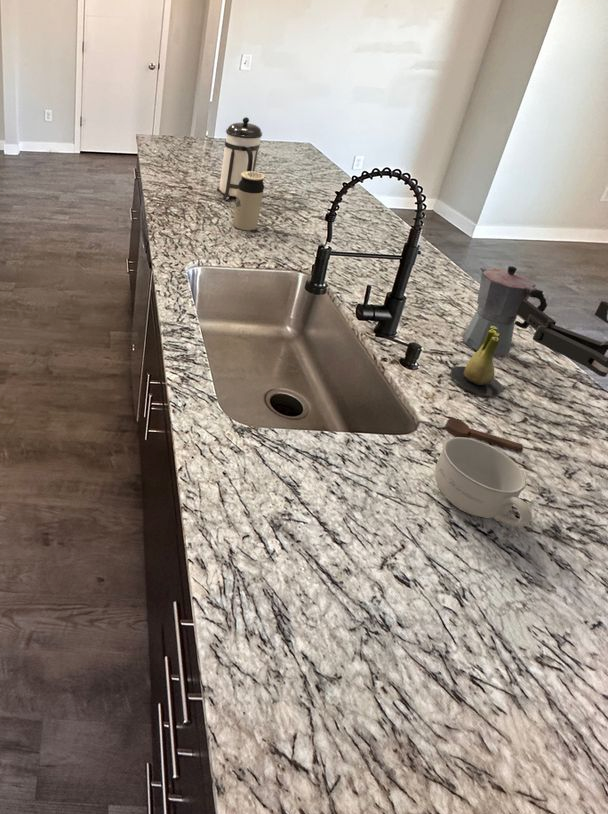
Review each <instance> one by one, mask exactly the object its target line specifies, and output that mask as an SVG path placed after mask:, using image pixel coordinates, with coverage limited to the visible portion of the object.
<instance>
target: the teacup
mask: <svg viewBox="0 0 608 814" xmlns="http://www.w3.org/2000/svg"><path fill="white" fill-rule="evenodd" d="M434 479H435V483H436V486H437V487H438V489H439V490H440V492H441V494H442V495H444V497H445V498H446V499H447V501H449V502H450V504H452V505H453V506H454V507H456V508H457V509H458V510H460V511H462V512H464V513H466V514H468V515H471V516H475V517H480V518H486V519H494V520H495V521H497V522H503V523H505V524H508V525H510V526H513V527H517V528H522V527H523V528H524V527H526V526H528V525H530V524H531V522H532V518H533V515H532V511H531V509H530V507H529V505H528V504H527V503H526V501H524V500H523V499H521V498H519V496H520V494H521V492H523V490H524V489H525V488H526V486H527V480H526V479H527V478H526V476H525V474H524V472H523V470H522V469H521V468H520V466H519V465H518V464H517V463H516V462H515V461H514V460H513V459H512V458H511V457H509V456H508V455H507V454H505V453H504V452H502V451H500V450H499V449H497V448H496V447H494V446H492V445H490V444H488V443H487V442H484V441H482V440H479V439H475V438H471V437H470V438H469V437H466V438H463V437H456V436H454V437H451V438H449V439H447V440H445V442H444V443H443V446H442V449H441V452H440V454H439V457H438V459H437V462H436V465H435V467H434ZM514 506H515V507H516V508H517V509H518V511H519V518H518V519H517V518H514V517H512V516H510V515H508V514H507V513H508V512H510V510H511V508H512V507H514Z"/></svg>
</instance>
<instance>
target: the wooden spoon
mask: <svg viewBox="0 0 608 814" xmlns="http://www.w3.org/2000/svg"><path fill="white" fill-rule="evenodd" d="M444 428H445V429H446V432H448V433H449V434H450V435H452V436H454V437H463V438H469V437H470V438H471V439H475V440H478V441H481V442H484V443H487V444H488V443H489V444H492V445H495V446H497V447H502V448H504V449H508V450H511V451H513V452H514V451H515V452H516V453H520V454H521V453H522V452H523V450H524V447H523V443H518V442H516V441H513V440H509V439H507V438H503V437H500V436H497V435H494V434H490V433H487V432H484V431H481V430H477V429H474V428H471V427H470V426H469V425H468V424H467V423H466V422H464V421H462V420H460V419H458V418H448V419H447V421H446V423H445V426H444Z"/></svg>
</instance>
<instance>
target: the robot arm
mask: <svg viewBox="0 0 608 814" xmlns="http://www.w3.org/2000/svg"><path fill="white" fill-rule="evenodd" d="M537 307H538V306H535V305H534V304H532V303H531V302H530V301H529V300H522V301H521V303H520V306H519V308H518V310H517V314H518V315H517V316H519V317H520V318H522V319H523V320H524V321H527V323H528V324H529V327H532V328H533V329H534V331H535V332H534V334H533V336H532V340H533V341H534V342H536V343H538V344H540V345H542V346H544V347H546V348H548V349H550V350H552V351H553V352H556V353H558V354H560V355H562V356H564V357H565V358H568V359H570V360H571V361H574V362H576V363H578V364H580V365H582V366H584V367H586V368H588V370H590V371H592V372H593V373H594V374H596V375H597V376H600V377H603V378H605V377H607V375H608V355H606V353H607V351H608V340H605V341H599V340H597V339H594V338H591V337H589V336H586V335H583V334H580V333H578V332H575V331H573V330H571V329H567V328H565V327H561V326H559V325H556V324H557V321H556V320H555V319H553V318H552V317H550V316H549V315H548V314H546V313H545V312H544V311H543V312H542V311H541V310H539V309H538V308H537ZM594 316H596V317H597V318H598V319H600V320H601V321H603V322H605V323H606V324H608V302H607V301H603V300H602V301H600V303H599V305H598V307H597V309H596V311H595V313H594Z"/></svg>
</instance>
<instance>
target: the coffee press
mask: <svg viewBox="0 0 608 814" xmlns="http://www.w3.org/2000/svg"><path fill="white" fill-rule="evenodd" d="M249 122H250V119H249V117H247V116H245V117H243V118H242V122H235V123H231V124H230V125H229V126H228V127H227V128H226V130H225V134H226V136H225V140H224V151H223V157H222V165H221V173H220V179H219V186H217V187H216V191H217V192H221V193H222V194H223V197H222V199H223V200H224V201H228V200H229V198H230V197H235V198H237V192H238V186H239V182H240V181H241V179H242V176H241V173H243V172H247V171H252V172H256V167H257V161H258V154H259V150H260V146H261V139H262V136H263V132H262V130H261V128H260V127H259V126H258V125H256V124H253V123H249Z"/></svg>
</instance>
